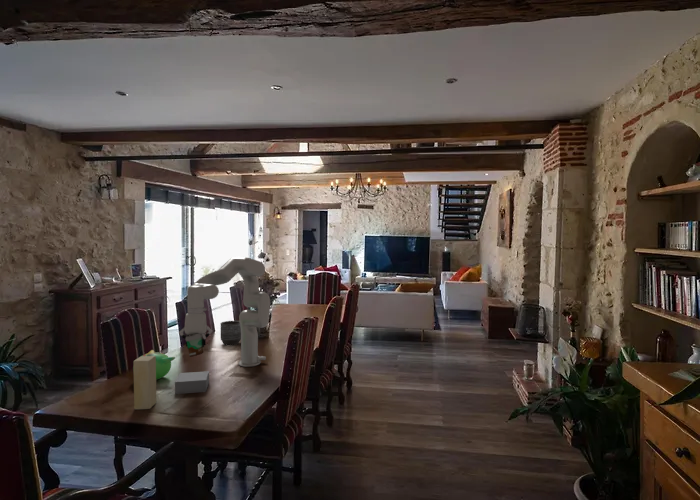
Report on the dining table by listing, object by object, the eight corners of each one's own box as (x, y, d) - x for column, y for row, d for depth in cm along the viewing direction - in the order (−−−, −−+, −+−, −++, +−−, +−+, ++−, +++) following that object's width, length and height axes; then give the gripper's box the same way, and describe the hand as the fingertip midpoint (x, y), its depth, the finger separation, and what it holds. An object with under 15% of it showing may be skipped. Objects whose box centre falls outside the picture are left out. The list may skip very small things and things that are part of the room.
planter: (232, 340, 309) (232, 319, 309) (246, 343, 301) (245, 322, 300) (216, 344, 298) (216, 323, 297) (229, 347, 289) (229, 325, 289)
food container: (201, 355, 205) (198, 335, 205) (188, 357, 205) (185, 337, 205) (209, 349, 217) (206, 330, 217) (197, 351, 217) (193, 331, 217)
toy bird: (164, 372, 235) (164, 345, 234) (177, 379, 223) (176, 351, 222) (128, 380, 222) (128, 351, 222) (140, 388, 210) (140, 358, 210)
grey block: (209, 382, 219) (208, 371, 219) (206, 392, 205) (206, 380, 205) (179, 384, 216) (179, 373, 216) (174, 394, 202) (174, 382, 202)
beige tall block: (139, 402, 191) (139, 355, 191) (156, 402, 192) (156, 355, 191) (132, 409, 183) (131, 361, 183) (149, 409, 184) (149, 360, 183)
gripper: (214, 308, 217) (214, 344, 217) (177, 310, 211) (177, 346, 212) (214, 311, 210) (214, 347, 210) (176, 313, 204) (176, 350, 205)
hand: (195, 347), depth 211 cm, fingers closed on food container, 6 cm apart
